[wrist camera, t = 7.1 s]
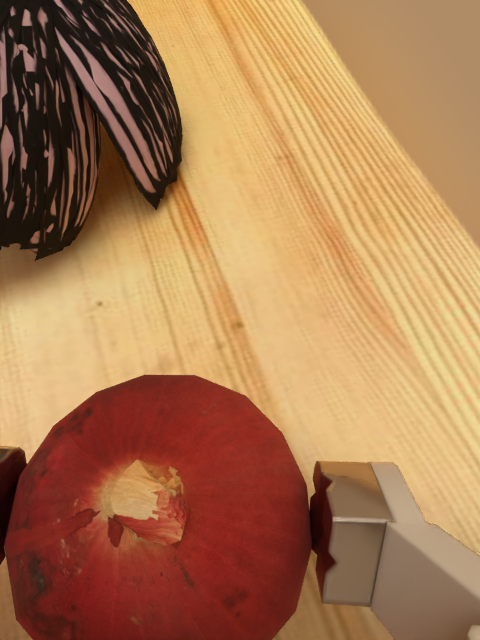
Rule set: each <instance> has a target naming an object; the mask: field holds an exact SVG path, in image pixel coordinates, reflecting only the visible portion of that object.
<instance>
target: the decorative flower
mask: <svg viewBox="0 0 480 640" xmlns="http://www.w3.org/2000/svg"><path fill="white" fill-rule="evenodd" d="M100 120H101V122H102V124H103V125H104V127H105V129H106V131H107V133H108V135H109V137H110V139H111V140H112V142H113V144H114V145H115V147H116V149H117V150H118V152H119V154H120V156H121V157H122V159H123V161H124V163H125V166H126V168H127V169H128V171H129V172H130V174H131V175H132V176H133V178H134V181H135V184H136V186H137V188H138V189H139V191H140V192H141V193H142V194H143V195H144V197H145V198H146V199H147V201H148V202H149V203H150V204H151V205H152V206H153V207H154V208H155V209H156V210H157V207H158V205H159V202H160V199H161V198H162V199H163V196H164V193H165V189H166V187H167V186H168V185H170V184H171V183H173V182H175V181H177V167H178V166H179V164H180V162H181V161H182V159H181V145H182V126H181V118H180V113H179V108H178V105H177V101H176V97H175V94H174V90H173V87H172V84H171V81H170V78H169V75H168V73H167V70H166V67H165V64H164V62H163V60H162V58H161V56H160V54H159V52H158V50H157V48H156V46H155V43H154V41H153V39H152V37H151V36H150V34H149V33H148V31H147V30H146V28H145V27H144V25H143V24H142V22H141V20H140V19H139V17H138V15H137V13H136V12H135V10H134V9H133V8H132V6H131V5H130V4H129V3H128V2H127V0H0V250H1V246H4V247H9V245H10V244H14V243H19V244H21V247H20V250H21V249H30V250H31V251H33V252H34V253H37V256H36V259H35V261H36V260H39V259H41V258H44V257H47V256H49V255H52V254H54V253H57V252H59V251H62V250H63V249H64V247H67V246H69V245H70V244H71V242H72V241H73V240H75V238H76V237H77V235H78V234H79V232H80V230H81V229H82V227H83V225H84V223H85V221H86V218H87V216H88V214H89V211H90V209H91V206H92V203H93V201H94V196H95V192H96V187H97V183H98V177H99V172H100V152H101V134H100Z"/></svg>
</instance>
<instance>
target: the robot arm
mask: <svg viewBox="0 0 480 640" xmlns="http://www.w3.org/2000/svg"><path fill="white" fill-rule="evenodd" d="M26 466H27V463H26V457H25V452H24V451H23V450H22V449H21V448H20V447H9V446H0V564H1V563H2V561H3V560H4V558H5V550H4V543H5V538H6V534H7V529H8V525H9V520H10V516H11V511H12V507H13V502H14V498H15V493H16V489H17V484H18V480H19V476H20V474H21V473H22V471H23V470H24V468H25V467H26ZM313 482H314V487H315V492H316V493H315V494H314V495H313V496H312V497H311V499H310V510H309V515H310V526H311V537H312V550H313V551H314V552H315V553H316V554H317V562H316V575H317V581H318V586H319V591H320V597H321V602H322V603H325V604H338V605H352V606H366V607H371V611H372V612H373V613H374V614H375V616H376V617H377V618H378V619H379V621H380V622H381V623H382V624H383V626H384V627H385V628H386V629H387V630H388V632H389V633H390V634H391V635H392V637H393V638H394V639H395V640H480V556H479V555H478V554H476V553H475V552H473V551H472V550H471V549H469V548H468V547H466V546H465V545H464V544H462V543H461V542H459V541H458V540H457V539H455V538H454V537H453V536H451V535H450V534H448V533H447V532H446V531H444V530H443V529H441V528H440V527H439V526H437V525H435V524H427V522H426V520H425V518H424V516H423V514H422V512H421V510H420V508H419V506H418V505H417V503H416V501H415V499H414V497H413V495H412V493H411V491H410V489H409V487H408V485H407V483H406V481H405V479H404V477H403V476H402V474H401V472H400V470H399V468H398V466H397V465H396V464H395V463H393V462H367V463H359V462H331V461H316V463H315V467H314V473H313Z"/></svg>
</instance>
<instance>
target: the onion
mask: <svg viewBox="0 0 480 640" xmlns="http://www.w3.org/2000/svg"><path fill="white" fill-rule="evenodd" d="M4 547H5V553H6V559H7V565H8V571H9V578H10V584H11V590H12V596H13V602H14V608H15V615H16V620H17V621H18V622H19V624H20V625H21V626H22V627H23V628H24V629H25V631H26V632H27V633H28V634H29V635H30V637H31V638H32V639H33V640H272V639H273V638H274V636H275V635H276V634H277V633H278V632H279V631H280V629H281V628H282V627H283V626H284V625H285V623H286V622H287V621H288V620H289V619H290V617H291V616H292V615H293V614H294V613H295V611H296V608H297V604H298V600H299V596H300V592H301V588H302V584H303V580H304V577H305V573H306V569H307V565H308V561H309V557H310V553H311V549H312V537H311V526H310V515H309V504H308V493H307V485H306V482H305V480H304V478H303V476H302V474H301V472H300V470H299V467H298V465H297V463H296V461H295V459H294V457H293V455H292V453H291V451H290V448H289V446H288V444H287V442H286V440H285V438H284V436H283V434H282V432H281V431H280V430H279V429H278V428H277V427H276V426H275V425H274V424H273V423H272V422H271V421H270V420H269V419H268V418H267V417H266V416H265V415H264V414H263V413H262V412H261V411H260V410H259V409H258V408H257V407H256V406H255V405H254V404H253V403H252V402H251V401H250V400H249V399H248V398H247V397H246V396H245V395H242V394H240V393H238V392H235V391H233V390H230V389H228V388H225V387H223V386H221V385H218V384H216V383H213V382H211V381H208V380H206V379H204V378H201V377H199V376H195V375H143V376H140V377H137V378H134V379H132V380H129V381H126V382H123V383H121V384H118V385H115V386H112V387H109V388H107V389H104V390H101V391H98V392H96V393H95V394H93V395H92V396H91V397H89V398H88V399H87V400H86V401H84V402H83V403H82V404H81V405H79V406H78V407H77V408H76V409H74V410H73V411H72V412H71V413H69V414H68V415H67V416H65V417H64V418H63V419H62V420H60V421H59V422H58V423H57V424H55V425H54V426H53V428H52V429H51V431H50V432H49V433H48V435H47V436H46V438H45V439H44V441H43V442H42V444H41V445H40V447H39V448H38V450H37V451H36V452H35V454H34V455H33V457H32V458H31V460H30V461H29V463H28V464H27V466H26V467H25V468H24V470H23V471H22V473H21V474H20V476H19V480H18V484H17V489H16V493H15V498H14V502H13V507H12V511H11V516H10V520H9V525H8V529H7V534H6V538H5V543H4Z"/></svg>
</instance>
